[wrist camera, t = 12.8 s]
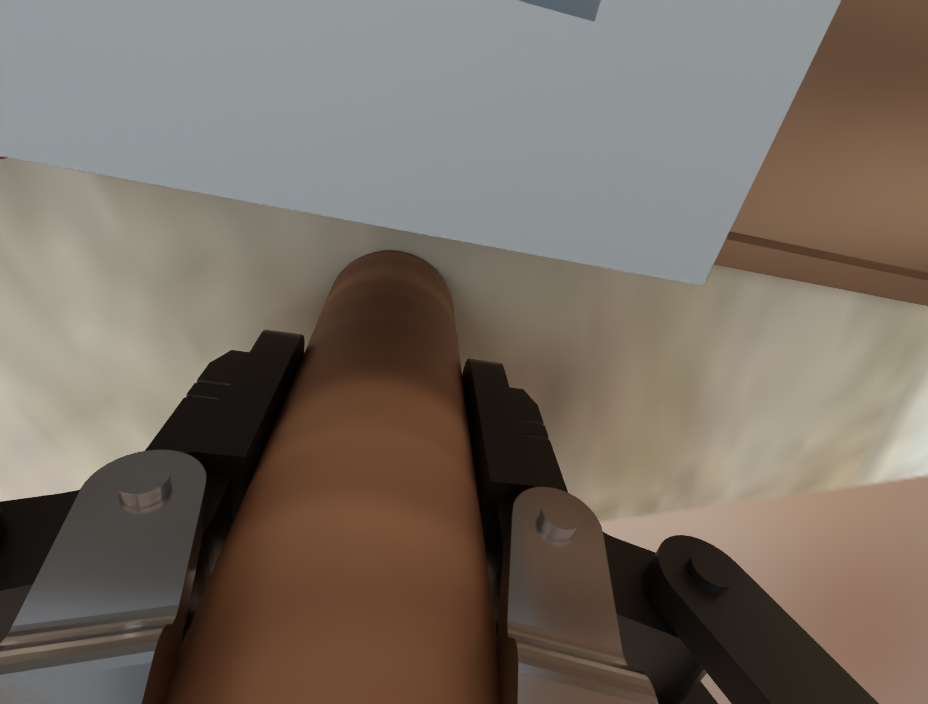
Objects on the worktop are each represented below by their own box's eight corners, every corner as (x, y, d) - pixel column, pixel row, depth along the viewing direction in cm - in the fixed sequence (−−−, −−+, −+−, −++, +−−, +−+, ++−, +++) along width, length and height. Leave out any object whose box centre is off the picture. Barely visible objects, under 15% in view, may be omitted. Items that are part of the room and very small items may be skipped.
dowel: (333, 240, 12) (-181, 1217, 2) (464, 263, 13) (651, 1103, 2) (324, 354, 14) (29, 1207, 3) (440, 369, 14) (489, 1141, 4)
